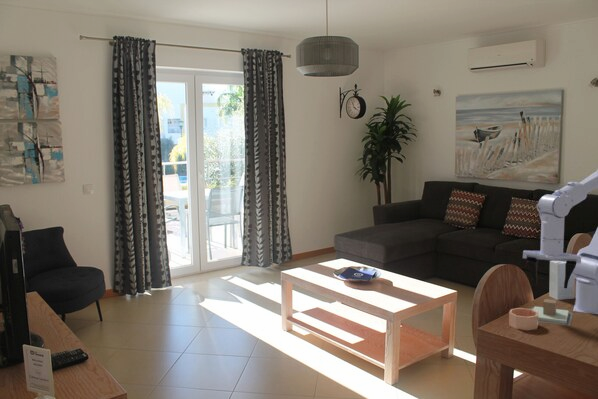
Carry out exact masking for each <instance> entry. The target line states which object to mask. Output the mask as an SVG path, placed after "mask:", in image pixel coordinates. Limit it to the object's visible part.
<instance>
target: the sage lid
mask: <svg viewBox="0 0 598 399" xmlns="http://www.w3.org/2000/svg"><path fill="white" fill-rule="evenodd" d="M533 308H534V309H533V310H534V311H536V312H538V320H542V321H549V322H557V323H564V324H566V323H567V318H568V314H569V312H570V311H569V310H567V309H559V308H557V300H556V299H552V298H551V299H550V298H544V300H543V306H535V305H534V307H533Z"/></svg>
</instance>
